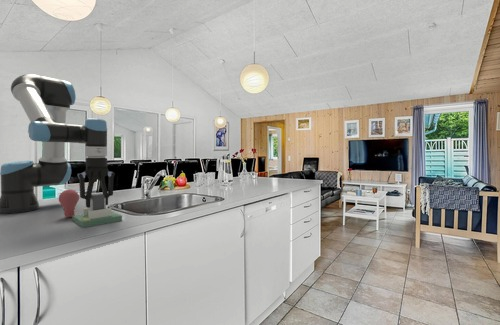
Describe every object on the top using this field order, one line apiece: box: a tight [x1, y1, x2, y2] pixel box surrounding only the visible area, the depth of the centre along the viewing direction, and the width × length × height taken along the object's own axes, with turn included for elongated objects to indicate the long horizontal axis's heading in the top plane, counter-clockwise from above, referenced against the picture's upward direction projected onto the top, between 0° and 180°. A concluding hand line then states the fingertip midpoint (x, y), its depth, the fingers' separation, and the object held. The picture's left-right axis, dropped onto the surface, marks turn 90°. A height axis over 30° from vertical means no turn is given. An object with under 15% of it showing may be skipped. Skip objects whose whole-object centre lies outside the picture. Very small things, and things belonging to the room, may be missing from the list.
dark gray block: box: [91, 193, 104, 210], centre depth 105 cm, size 4×4×8 cm
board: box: [72, 207, 123, 228], centre depth 105 cm, size 14×14×5 cm
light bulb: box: [58, 189, 80, 218], centre depth 110 cm, size 7×7×12 cm
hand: (97, 214), depth 105 cm, fingers closed on dark gray block, 4 cm apart
